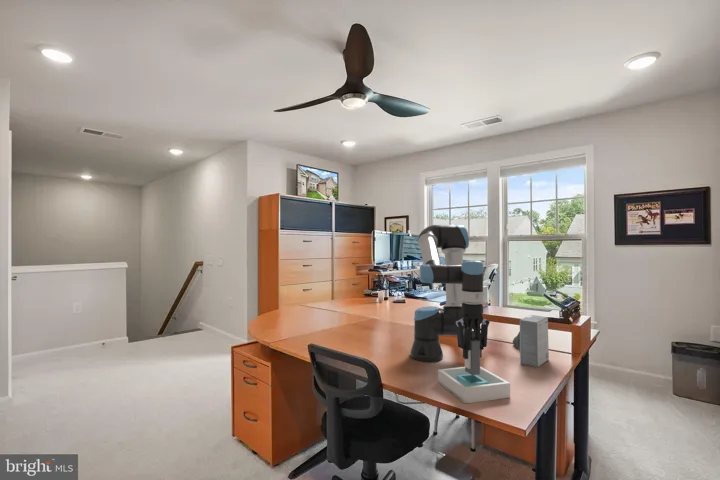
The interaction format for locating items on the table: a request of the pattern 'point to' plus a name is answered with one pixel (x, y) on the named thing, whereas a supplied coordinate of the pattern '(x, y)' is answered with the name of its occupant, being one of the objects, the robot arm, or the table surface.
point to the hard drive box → (534, 340)
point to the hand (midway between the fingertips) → (472, 366)
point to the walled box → (473, 385)
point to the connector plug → (474, 355)
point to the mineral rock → (517, 341)
